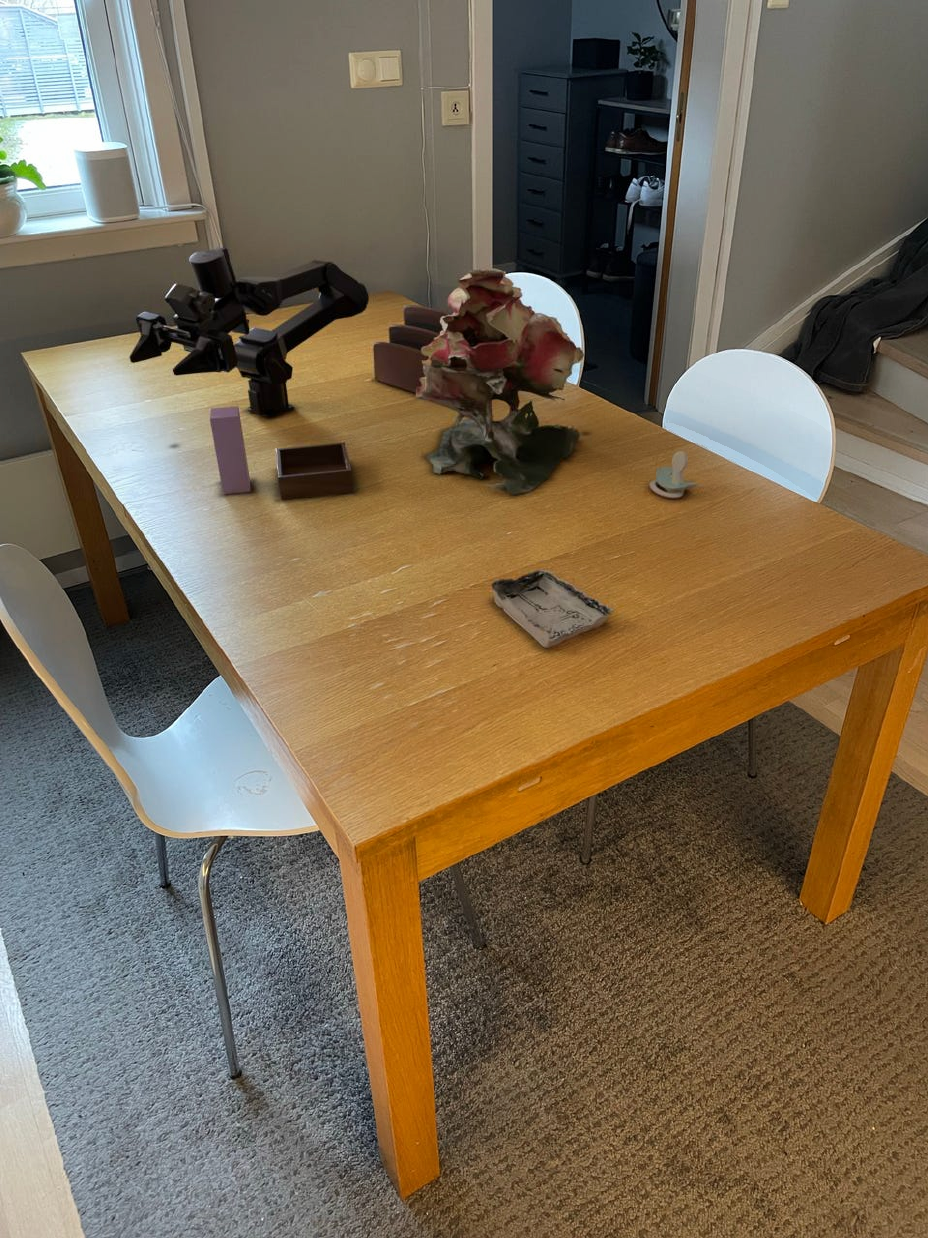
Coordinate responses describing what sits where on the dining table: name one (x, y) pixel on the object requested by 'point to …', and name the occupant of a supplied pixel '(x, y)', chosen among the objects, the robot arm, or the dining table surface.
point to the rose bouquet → (498, 382)
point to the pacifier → (675, 482)
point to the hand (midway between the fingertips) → (152, 366)
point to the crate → (314, 471)
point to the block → (230, 449)
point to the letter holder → (407, 347)
